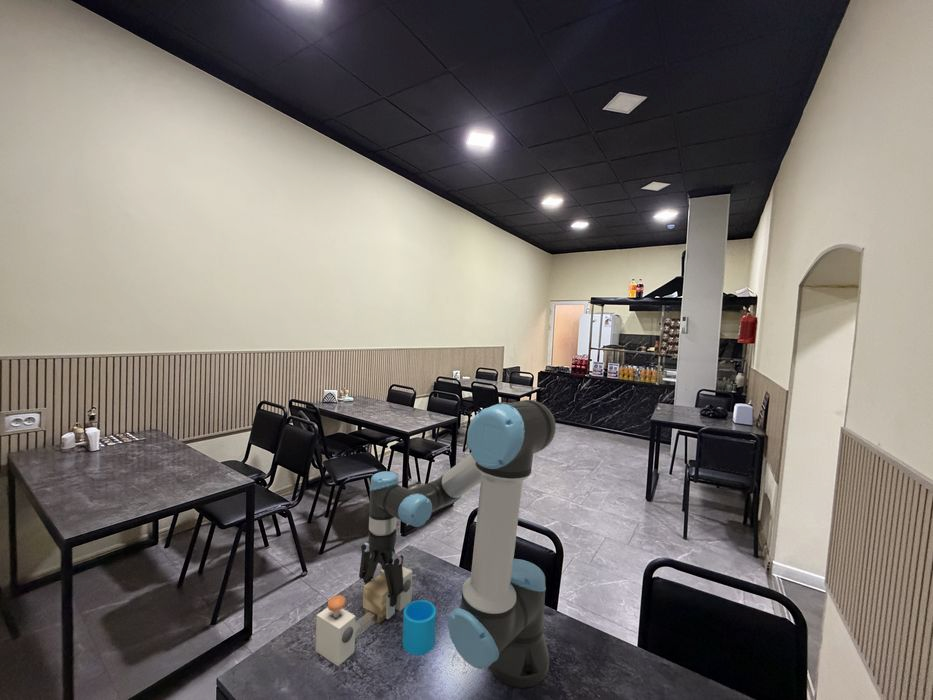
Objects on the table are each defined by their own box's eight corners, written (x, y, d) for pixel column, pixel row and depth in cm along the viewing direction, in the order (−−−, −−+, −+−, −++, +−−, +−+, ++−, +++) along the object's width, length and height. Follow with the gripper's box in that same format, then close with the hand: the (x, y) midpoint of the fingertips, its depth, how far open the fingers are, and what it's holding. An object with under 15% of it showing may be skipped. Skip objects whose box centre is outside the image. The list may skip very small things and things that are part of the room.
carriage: (396, 611, 108) (397, 583, 108) (381, 624, 103) (382, 595, 103) (378, 601, 112) (379, 574, 111) (362, 614, 106) (363, 585, 106)
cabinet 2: (412, 601, 113) (413, 571, 112) (400, 611, 108) (402, 580, 108) (390, 591, 117) (391, 562, 117) (379, 600, 113) (380, 570, 112)
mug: (429, 658, 93) (430, 625, 93) (397, 651, 95) (398, 619, 94) (442, 622, 105) (443, 593, 105) (413, 617, 106) (414, 588, 106)
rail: (392, 607, 110) (392, 600, 110) (346, 646, 95) (346, 639, 95) (386, 603, 111) (386, 597, 111) (339, 642, 97) (339, 634, 97)
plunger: (348, 619, 94) (348, 599, 94) (334, 630, 91) (335, 608, 91) (336, 613, 96) (337, 593, 96) (323, 623, 93) (324, 602, 93)
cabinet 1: (355, 652, 94) (356, 616, 94) (338, 667, 90) (340, 629, 89) (332, 637, 98) (333, 603, 98) (315, 651, 94) (316, 615, 93)
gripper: (419, 534, 105) (416, 616, 105) (366, 514, 115) (363, 589, 115) (401, 546, 98) (398, 634, 99) (347, 524, 108) (344, 604, 109)
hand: (379, 610), depth 107 cm, fingers closed on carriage, 7 cm apart
